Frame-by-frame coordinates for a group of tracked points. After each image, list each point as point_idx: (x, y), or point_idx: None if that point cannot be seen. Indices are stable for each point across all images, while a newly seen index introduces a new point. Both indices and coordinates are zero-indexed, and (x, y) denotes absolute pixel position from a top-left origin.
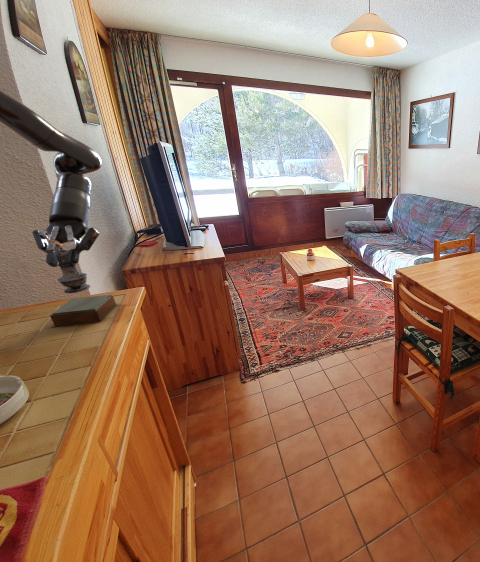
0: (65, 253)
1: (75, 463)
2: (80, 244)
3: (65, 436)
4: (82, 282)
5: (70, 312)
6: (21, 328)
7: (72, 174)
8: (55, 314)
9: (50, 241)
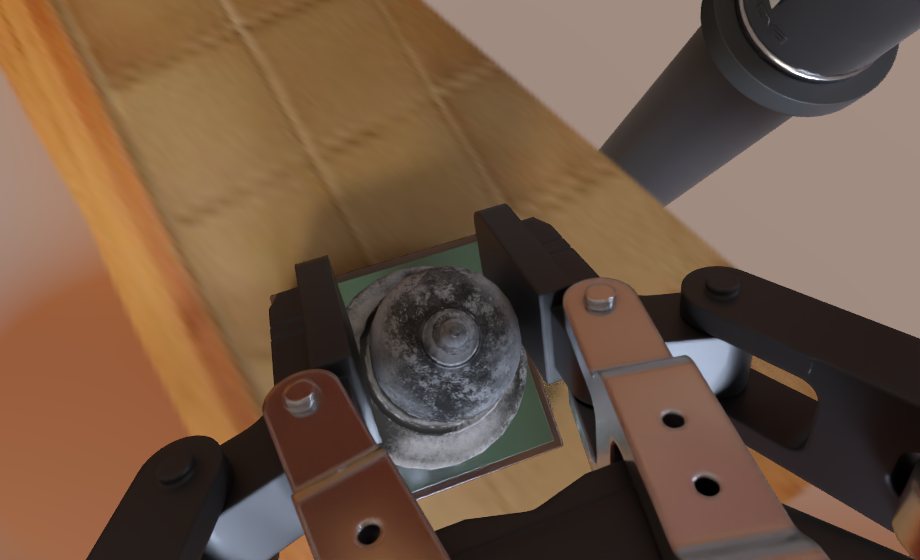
0: (377, 311)
1: None
2: (188, 458)
3: None
4: None
5: (401, 265)
6: (623, 231)
7: None
8: (467, 242)
9: (656, 362)
